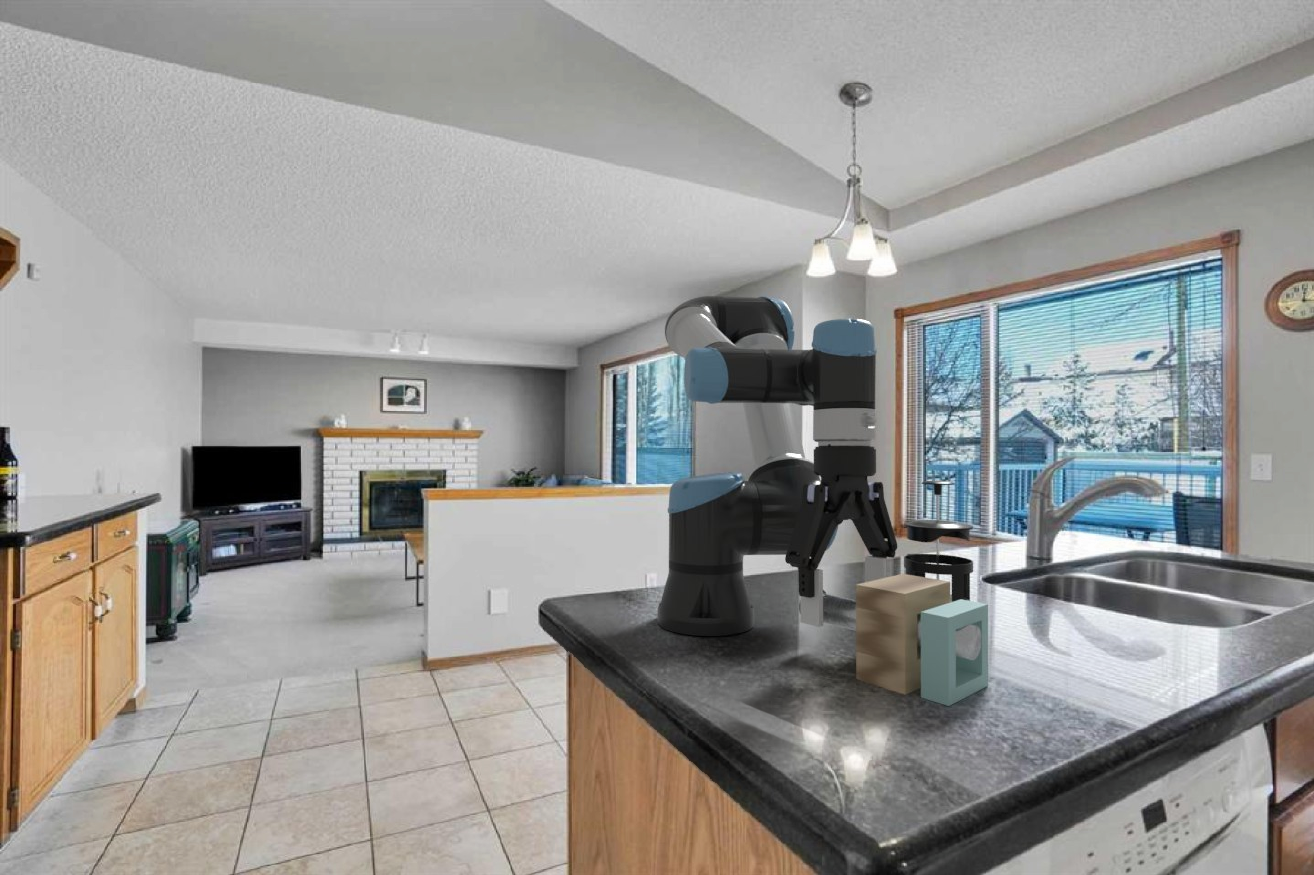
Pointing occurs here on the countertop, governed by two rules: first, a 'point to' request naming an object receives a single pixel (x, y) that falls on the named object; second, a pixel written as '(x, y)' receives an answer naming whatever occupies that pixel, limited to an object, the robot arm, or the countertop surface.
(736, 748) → the countertop surface
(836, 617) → the shaft
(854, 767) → the countertop surface
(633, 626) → the countertop surface
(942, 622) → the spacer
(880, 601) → the housing
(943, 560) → the french press
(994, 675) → the countertop surface
